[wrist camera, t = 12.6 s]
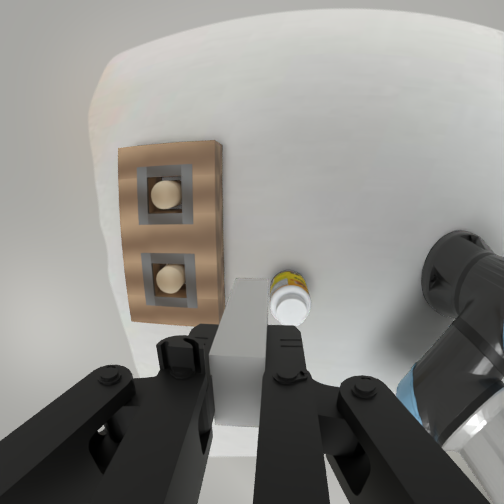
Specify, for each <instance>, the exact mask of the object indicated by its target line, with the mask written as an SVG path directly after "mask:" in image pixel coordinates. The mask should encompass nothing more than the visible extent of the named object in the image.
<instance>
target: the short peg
mask: <svg viewBox="0 0 504 504" xmlns="http://www.w3.org/2000/svg"><path fill="white" fill-rule="evenodd" d="M156 281H157V285H158V287H159V288H160V289H161V290H162V291H163V292H166V293H175V292H177V291H178V290H179V289H180V288H181V286H182V285H183V284H184V283H185V282H186V279H185V264H167V265H166V266H165V267H164V268H163V269H161V270H160V271H159V272H158V274H157V277H156Z"/></svg>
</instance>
